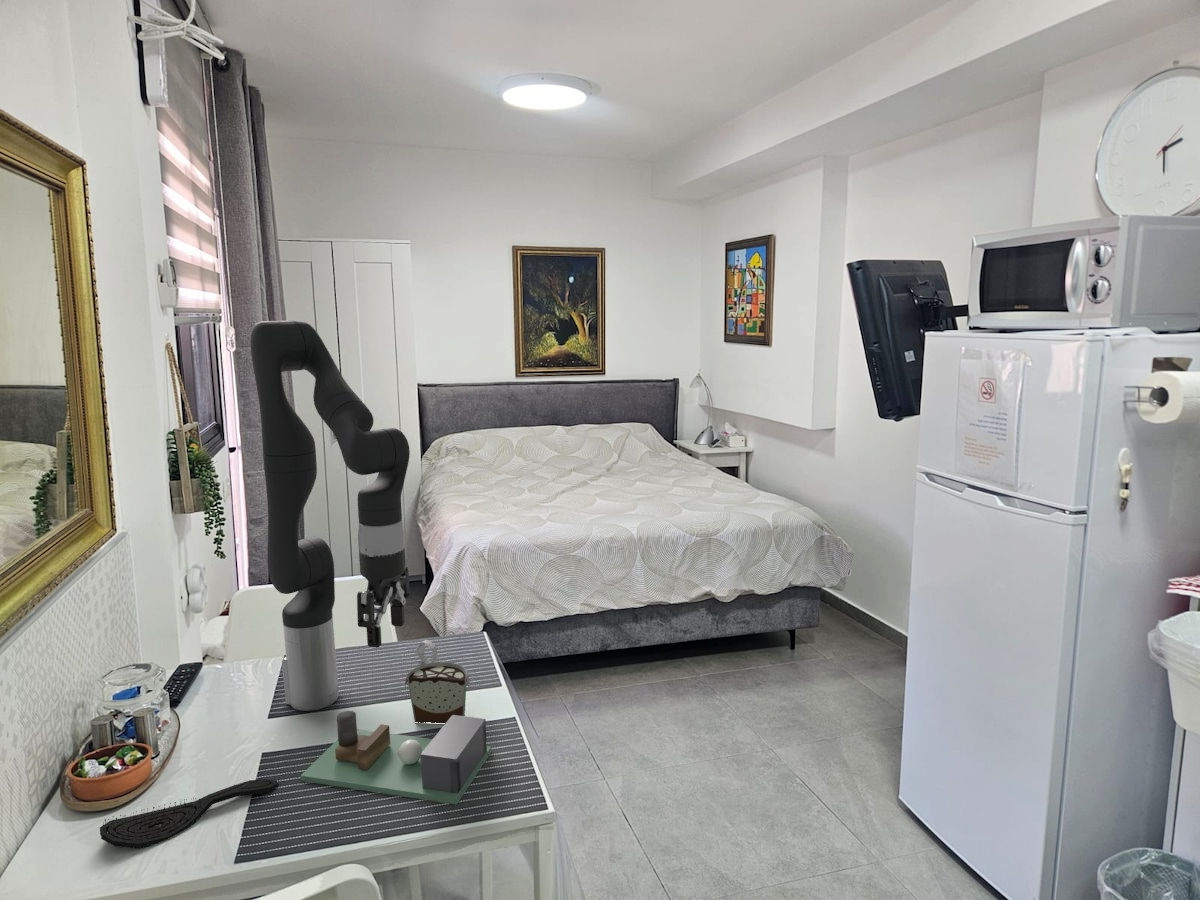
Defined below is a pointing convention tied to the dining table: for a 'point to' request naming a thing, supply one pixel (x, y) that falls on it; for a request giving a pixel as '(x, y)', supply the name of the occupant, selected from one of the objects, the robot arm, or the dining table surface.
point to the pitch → (383, 772)
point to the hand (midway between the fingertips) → (386, 635)
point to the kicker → (359, 741)
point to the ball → (410, 751)
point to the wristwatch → (421, 649)
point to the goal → (453, 754)
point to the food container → (437, 691)
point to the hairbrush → (173, 817)
